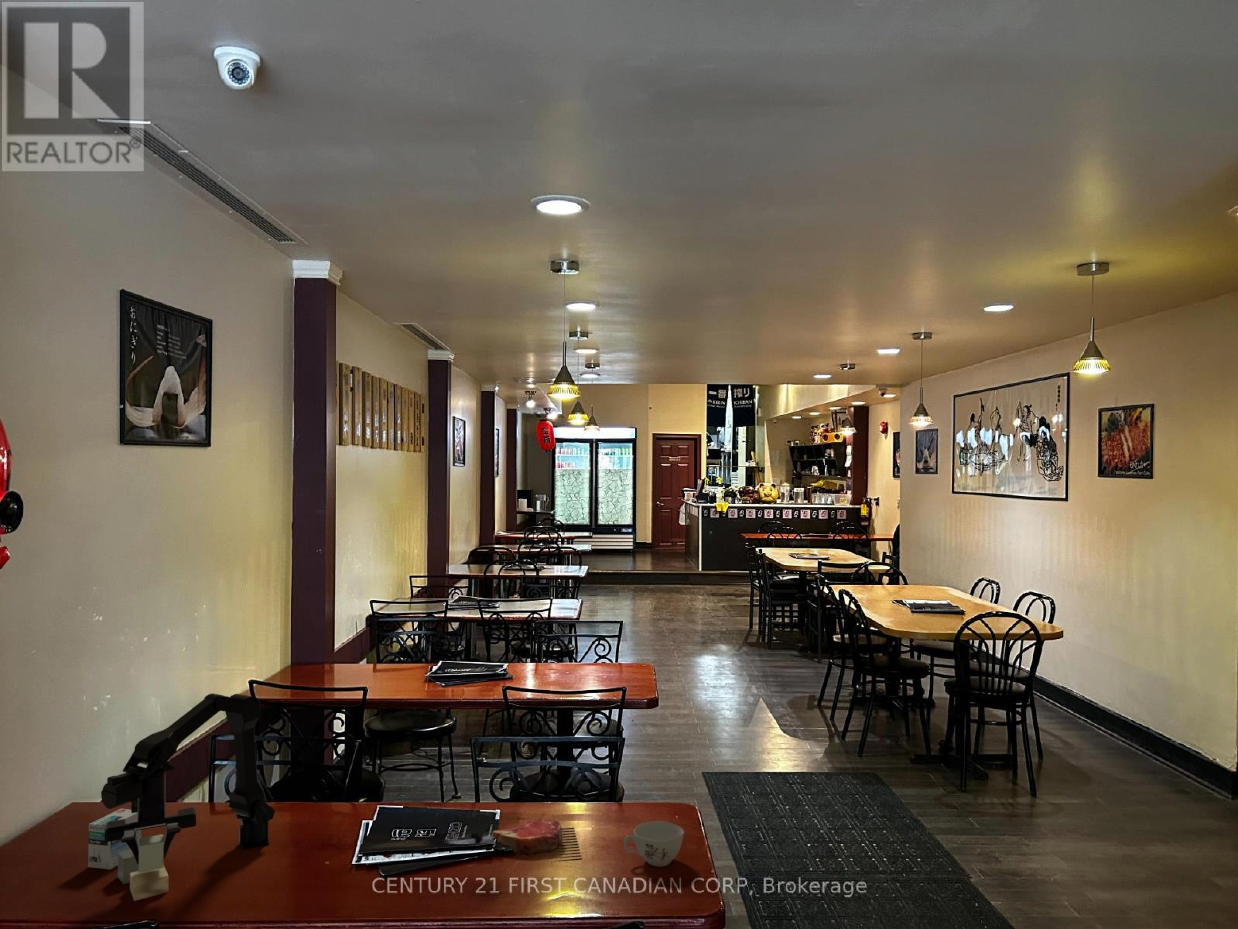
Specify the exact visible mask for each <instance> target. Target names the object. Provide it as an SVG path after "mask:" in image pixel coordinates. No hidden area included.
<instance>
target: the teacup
mask: <svg viewBox="0 0 1238 929" xmlns="http://www.w3.org/2000/svg"><path fill="white" fill-rule="evenodd" d="M684 834H685V831H684V829H683V828H682V827H681V826H679V825H677V824H674V823H672V822H669V821H664V820H654V821H646V822H642V823H640V824H638V825H637V826H635V828H634V829H633V835H631V834H629V835H627V836H625V837H624V839H623V840H624V841H623V845H624V848H625V850H626V851H627V852H628V853H630V854H636V855H639V856H641V857H642V858H643V859H644V860H645V861H646V862H647V864H648V865H651V866H653V867H661V868H662V867H665V866H668V865H670V864H671V863H672V861H673V860H674V859H675V858H676V857H677V855H678V853H679V851H680V849H681V846H682V845H683V844H682V843H683V840H684ZM629 841H632V842H633V844H635V846H636V848H637V850H634V849H632V848H630V847H629V846H628V842H629Z"/></svg>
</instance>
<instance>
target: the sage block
mask: <svg viewBox="0 0 1238 929" xmlns="http://www.w3.org/2000/svg"><path fill="white" fill-rule="evenodd" d="M163 847H164V834H157V835H151V836H146V837H141V838H139V873H140V872H145V871H150V870H155V869H160V868H163V865H164V859H163Z"/></svg>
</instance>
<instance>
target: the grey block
mask: <svg viewBox="0 0 1238 929" xmlns="http://www.w3.org/2000/svg"><path fill="white" fill-rule="evenodd" d="M138 849H139V847H138ZM136 871H139V864H137V862H136V860H135V857H134V855H133V853H132V851H131V849H129V850H125V851H122V852H118V865H117V878H118V879H119V880H120V882H121V883H122V885H126V884H130V873H132V872H136Z"/></svg>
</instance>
